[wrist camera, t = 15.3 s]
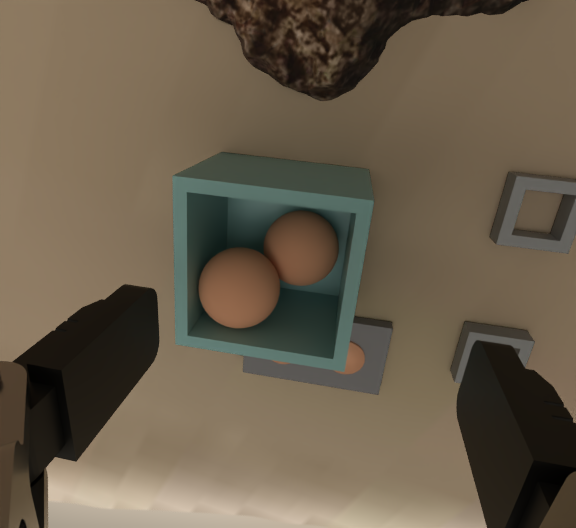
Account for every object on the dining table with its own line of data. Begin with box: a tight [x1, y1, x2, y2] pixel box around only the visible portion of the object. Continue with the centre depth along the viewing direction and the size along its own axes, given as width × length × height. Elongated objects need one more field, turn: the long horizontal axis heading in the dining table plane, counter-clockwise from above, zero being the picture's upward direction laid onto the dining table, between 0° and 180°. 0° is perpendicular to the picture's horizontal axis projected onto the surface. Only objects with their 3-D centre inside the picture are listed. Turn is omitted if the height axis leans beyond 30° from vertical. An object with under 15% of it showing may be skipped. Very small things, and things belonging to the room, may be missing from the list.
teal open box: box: [173, 152, 374, 372], centre depth 22 cm, size 8×8×7 cm
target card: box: [243, 317, 393, 395], centre depth 27 cm, size 9×5×1 cm, turn 85°
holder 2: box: [450, 321, 535, 383], centre depth 25 cm, size 4×4×1 cm
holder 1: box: [490, 172, 576, 254], centre depth 22 cm, size 4×4×1 cm
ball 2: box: [263, 210, 339, 286], centre depth 23 cm, size 4×4×4 cm
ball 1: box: [198, 247, 280, 328], centre depth 21 cm, size 4×4×4 cm
